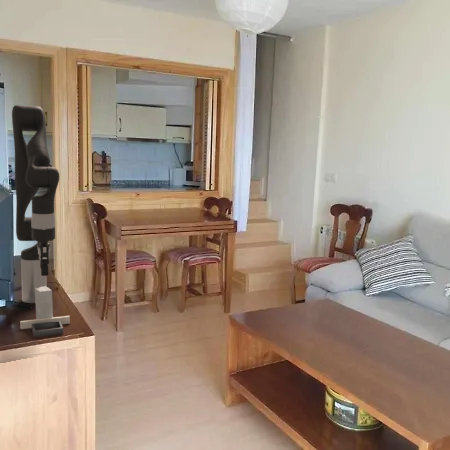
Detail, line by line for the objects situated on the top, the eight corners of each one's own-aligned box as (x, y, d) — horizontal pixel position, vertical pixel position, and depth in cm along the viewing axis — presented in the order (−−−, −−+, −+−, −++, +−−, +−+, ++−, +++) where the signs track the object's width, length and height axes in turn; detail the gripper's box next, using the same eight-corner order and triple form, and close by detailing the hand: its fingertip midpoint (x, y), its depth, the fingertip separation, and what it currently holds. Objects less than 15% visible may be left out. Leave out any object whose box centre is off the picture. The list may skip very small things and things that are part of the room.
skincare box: (53, 323, 167) (53, 290, 165) (40, 325, 165) (40, 292, 162) (47, 317, 172) (47, 285, 170) (35, 320, 169) (34, 287, 167)
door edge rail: (20, 328, 162) (20, 321, 161) (69, 322, 169) (69, 315, 168) (20, 329, 161) (20, 322, 160) (69, 323, 168) (69, 316, 167)
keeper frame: (31, 329, 161) (31, 323, 161) (60, 325, 165) (60, 320, 165) (33, 337, 155) (33, 331, 154) (63, 333, 159) (63, 328, 158)
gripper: (30, 222, 166) (31, 267, 169) (31, 230, 154) (33, 278, 157) (53, 221, 169) (54, 265, 172) (56, 229, 156) (57, 277, 159)
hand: (44, 271), depth 164 cm, fingers open, 8 cm apart
